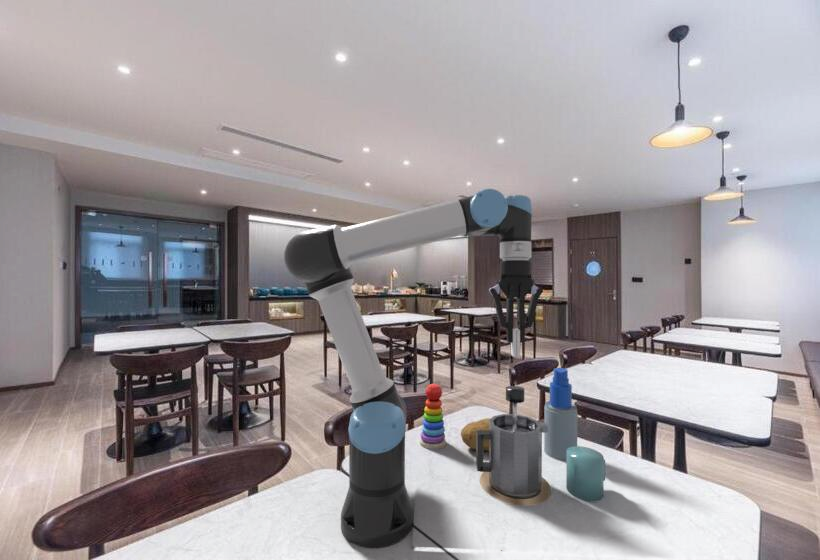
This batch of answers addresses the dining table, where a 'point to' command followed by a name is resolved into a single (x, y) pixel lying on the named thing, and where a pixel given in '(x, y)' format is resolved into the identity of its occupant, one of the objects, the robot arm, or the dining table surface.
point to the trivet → (536, 500)
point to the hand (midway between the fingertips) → (515, 355)
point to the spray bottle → (560, 417)
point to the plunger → (515, 406)
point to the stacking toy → (433, 420)
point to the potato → (470, 433)
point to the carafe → (512, 456)
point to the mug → (585, 473)
